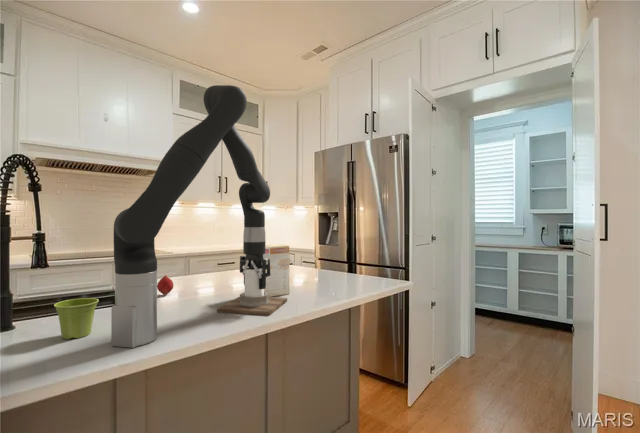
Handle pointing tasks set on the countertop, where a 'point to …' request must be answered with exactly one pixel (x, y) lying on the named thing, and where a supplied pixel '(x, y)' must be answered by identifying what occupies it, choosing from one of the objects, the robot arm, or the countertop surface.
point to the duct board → (253, 310)
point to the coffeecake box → (277, 270)
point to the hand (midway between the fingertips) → (254, 287)
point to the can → (252, 284)
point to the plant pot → (76, 316)
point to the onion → (165, 285)
